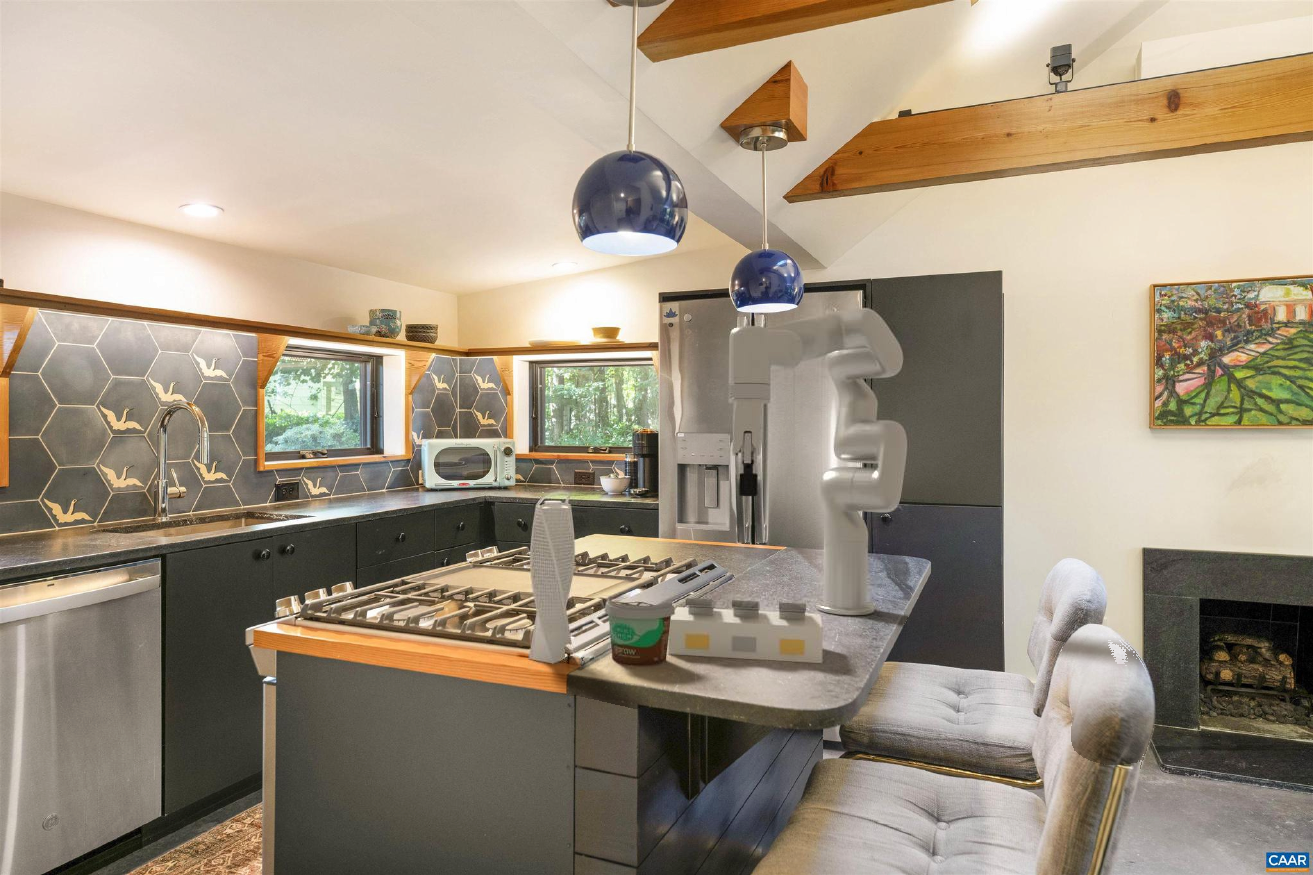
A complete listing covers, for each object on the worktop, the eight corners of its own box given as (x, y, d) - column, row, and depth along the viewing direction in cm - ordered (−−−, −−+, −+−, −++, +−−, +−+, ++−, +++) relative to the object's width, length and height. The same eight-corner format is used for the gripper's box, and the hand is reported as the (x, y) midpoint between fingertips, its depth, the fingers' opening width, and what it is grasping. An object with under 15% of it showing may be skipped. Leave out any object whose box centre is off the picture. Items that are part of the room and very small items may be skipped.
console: (676, 639, 140) (677, 600, 140) (819, 647, 136) (819, 607, 136) (668, 654, 130) (668, 612, 130) (822, 663, 126) (822, 620, 126)
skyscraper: (549, 648, 133) (551, 489, 133) (583, 655, 129) (585, 491, 129) (519, 659, 126) (521, 492, 126) (555, 666, 122) (557, 494, 123)
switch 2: (734, 608, 137) (734, 602, 138) (759, 610, 136) (759, 603, 137) (731, 607, 130) (731, 600, 130) (758, 608, 129) (758, 601, 129)
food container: (591, 663, 125) (592, 602, 125) (606, 653, 130) (607, 595, 130) (661, 671, 120) (662, 609, 120) (674, 661, 126) (675, 601, 126)
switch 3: (779, 611, 136) (779, 604, 136) (804, 612, 135) (804, 605, 135) (778, 609, 128) (779, 602, 129) (805, 611, 127) (805, 603, 128)
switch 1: (690, 606, 139) (691, 600, 139) (715, 608, 138) (715, 601, 138) (685, 605, 131) (685, 597, 131) (711, 606, 130) (711, 599, 130)
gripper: (731, 397, 145) (730, 492, 145) (725, 392, 131) (724, 498, 131) (771, 397, 144) (770, 493, 144) (769, 392, 129) (768, 499, 129)
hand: (748, 495), depth 137 cm, fingers closed
